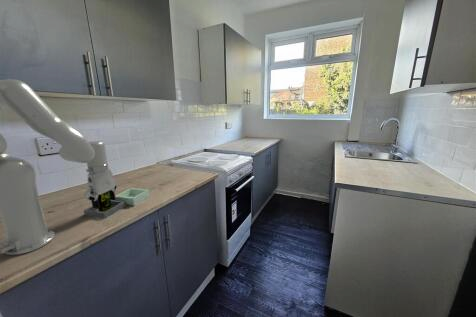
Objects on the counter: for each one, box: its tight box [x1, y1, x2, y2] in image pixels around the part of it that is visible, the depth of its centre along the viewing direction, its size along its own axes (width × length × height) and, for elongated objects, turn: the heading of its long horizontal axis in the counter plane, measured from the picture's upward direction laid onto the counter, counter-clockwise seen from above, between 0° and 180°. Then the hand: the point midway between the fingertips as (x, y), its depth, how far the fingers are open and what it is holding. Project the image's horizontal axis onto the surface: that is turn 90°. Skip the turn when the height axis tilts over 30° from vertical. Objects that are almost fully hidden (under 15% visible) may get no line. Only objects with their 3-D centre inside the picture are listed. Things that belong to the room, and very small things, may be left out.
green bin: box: [114, 187, 151, 207], centre depth 105 cm, size 12×12×4 cm
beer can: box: [97, 191, 113, 212], centre depth 92 cm, size 5×5×12 cm
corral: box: [83, 200, 126, 219], centre depth 94 cm, size 12×12×2 cm
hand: (104, 203), depth 93 cm, fingers open, 8 cm apart
